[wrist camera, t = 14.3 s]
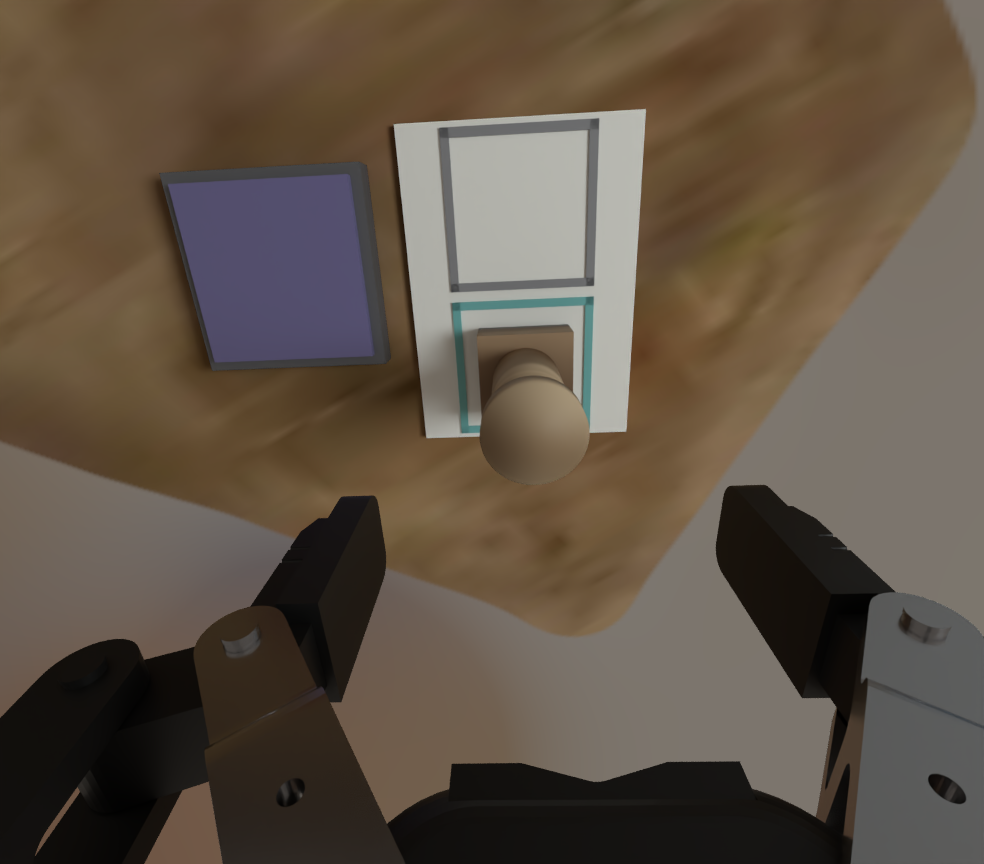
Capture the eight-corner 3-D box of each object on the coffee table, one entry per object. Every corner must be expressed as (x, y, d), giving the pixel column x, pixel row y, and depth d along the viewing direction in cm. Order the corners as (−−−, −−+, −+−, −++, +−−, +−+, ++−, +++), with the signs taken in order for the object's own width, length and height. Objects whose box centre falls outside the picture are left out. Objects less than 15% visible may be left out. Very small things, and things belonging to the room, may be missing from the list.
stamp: (479, 328, 25) (465, 375, 16) (568, 324, 24) (602, 370, 16) (484, 411, 26) (473, 495, 18) (567, 408, 26) (597, 491, 17)
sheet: (395, 125, 22) (393, 123, 21) (644, 110, 21) (646, 108, 21) (427, 436, 27) (426, 438, 27) (624, 429, 27) (626, 432, 26)
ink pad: (176, 176, 23) (153, 171, 21) (366, 165, 22) (356, 160, 21) (224, 364, 26) (207, 372, 24) (390, 358, 26) (383, 365, 24)
